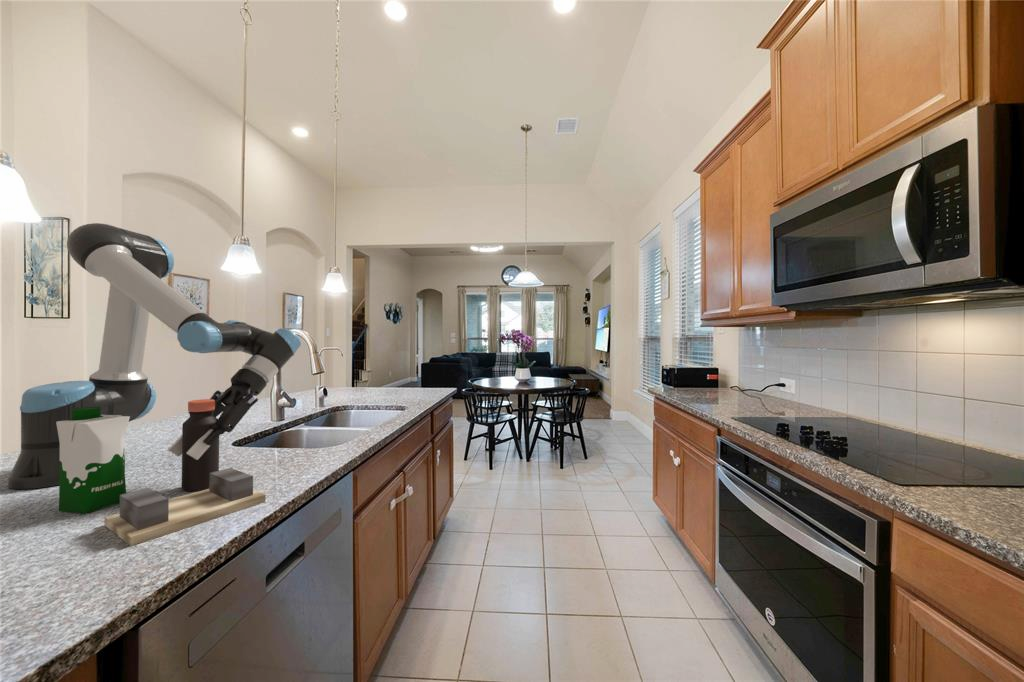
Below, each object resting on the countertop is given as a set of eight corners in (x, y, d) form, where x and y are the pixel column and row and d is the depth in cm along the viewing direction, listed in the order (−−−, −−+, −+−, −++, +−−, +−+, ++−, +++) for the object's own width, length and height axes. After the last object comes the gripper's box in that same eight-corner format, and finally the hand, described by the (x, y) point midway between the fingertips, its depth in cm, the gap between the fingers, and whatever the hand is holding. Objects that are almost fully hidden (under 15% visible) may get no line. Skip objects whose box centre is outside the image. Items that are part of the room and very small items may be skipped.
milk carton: (103, 495, 85) (104, 404, 85) (135, 498, 83) (136, 406, 83) (48, 512, 76) (49, 411, 76) (83, 516, 75) (83, 413, 75)
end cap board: (104, 525, 71) (104, 495, 71) (233, 488, 89) (233, 464, 89) (130, 546, 64) (130, 513, 64) (265, 501, 82) (265, 475, 82)
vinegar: (173, 491, 87) (174, 402, 87) (198, 480, 94) (199, 398, 94) (202, 492, 87) (203, 403, 87) (225, 481, 94) (227, 398, 93)
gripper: (289, 387, 101) (222, 468, 86) (240, 383, 108) (170, 458, 93) (270, 368, 96) (196, 450, 81) (220, 366, 103) (143, 441, 88)
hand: (182, 454), depth 87 cm, fingers closed on vinegar, 6 cm apart
